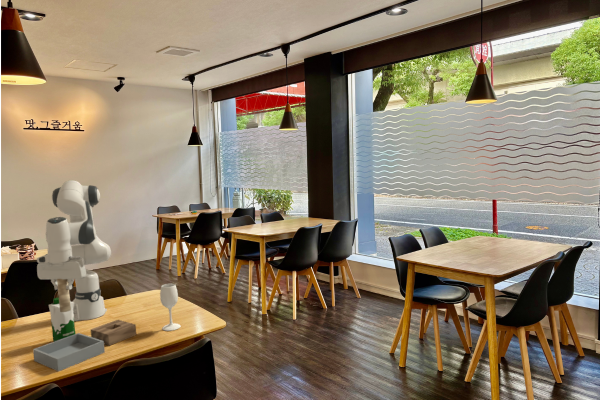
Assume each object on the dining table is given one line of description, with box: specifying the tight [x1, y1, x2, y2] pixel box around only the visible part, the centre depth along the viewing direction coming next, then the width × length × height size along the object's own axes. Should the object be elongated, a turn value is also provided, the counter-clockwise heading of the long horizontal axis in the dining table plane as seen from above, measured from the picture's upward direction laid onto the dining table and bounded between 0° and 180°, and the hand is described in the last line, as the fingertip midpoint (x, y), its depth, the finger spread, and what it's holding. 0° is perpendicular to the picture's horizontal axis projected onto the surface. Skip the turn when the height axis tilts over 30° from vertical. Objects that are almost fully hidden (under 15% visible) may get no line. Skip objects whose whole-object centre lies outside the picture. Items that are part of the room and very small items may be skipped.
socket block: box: [90, 319, 137, 346], centre depth 206 cm, size 14×14×5 cm
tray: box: [32, 332, 105, 372], centre depth 187 cm, size 20×20×5 cm
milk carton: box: [48, 296, 77, 342], centre depth 203 cm, size 9×9×20 cm
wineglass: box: [159, 283, 182, 332], centre depth 214 cm, size 9×9×21 cm
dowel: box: [57, 279, 71, 312], centre depth 185 cm, size 4×4×14 cm
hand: (63, 289), depth 185 cm, fingers closed on dowel, 4 cm apart
